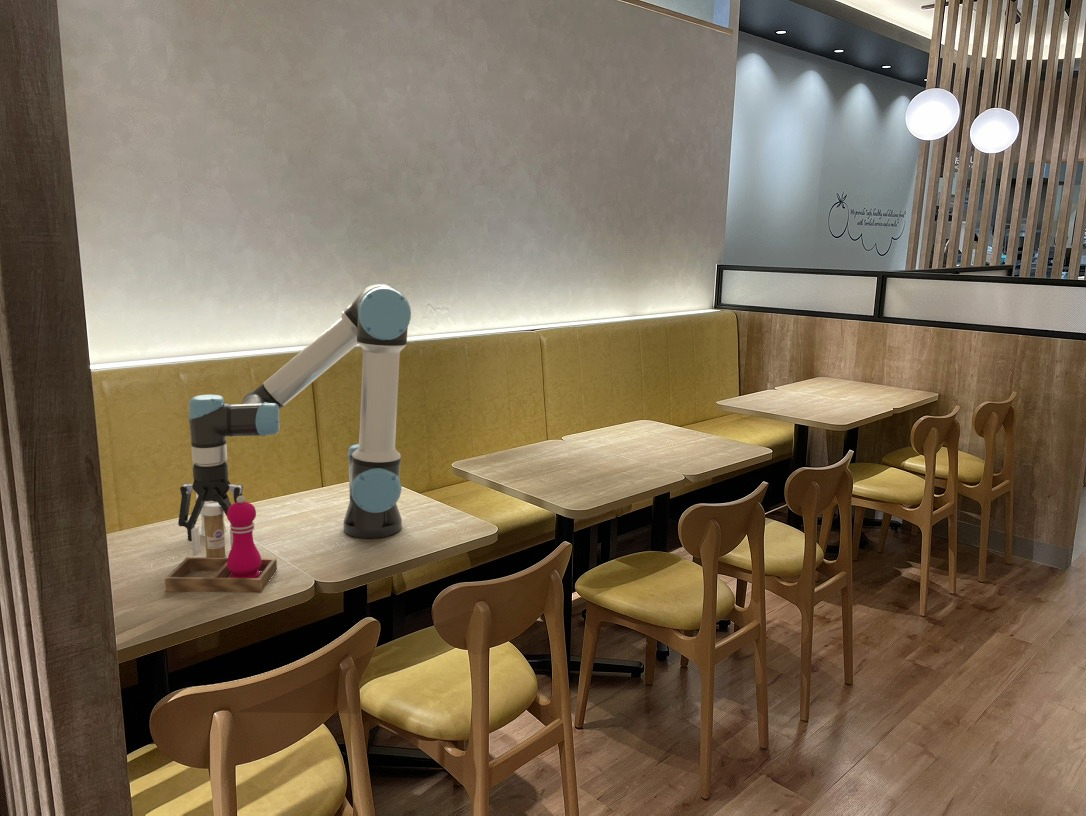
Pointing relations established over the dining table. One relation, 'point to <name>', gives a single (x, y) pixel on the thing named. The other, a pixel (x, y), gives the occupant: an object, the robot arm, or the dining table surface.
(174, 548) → the dining table surface
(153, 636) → the dining table surface
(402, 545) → the dining table surface
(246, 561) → the pepper mill
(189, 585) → the caddy
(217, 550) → the sprinkles bottle
